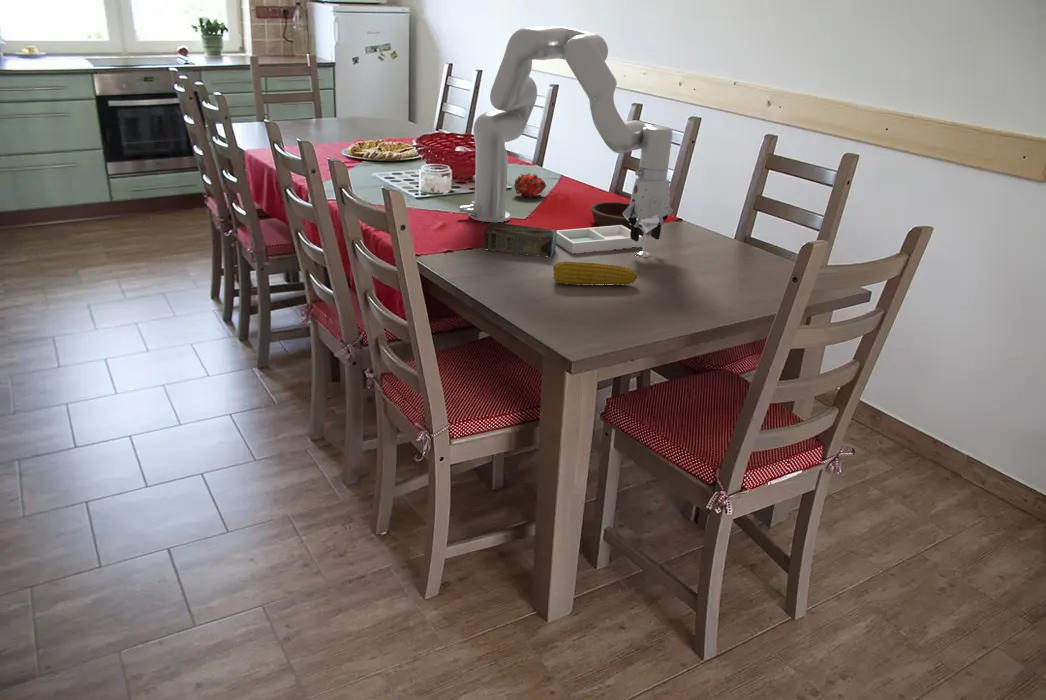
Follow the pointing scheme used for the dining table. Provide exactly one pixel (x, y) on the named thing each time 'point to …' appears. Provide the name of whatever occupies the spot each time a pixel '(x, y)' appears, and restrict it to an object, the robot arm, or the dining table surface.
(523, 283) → the dining table surface
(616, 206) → the dish
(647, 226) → the wineglass
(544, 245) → the beverage carton
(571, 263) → the food
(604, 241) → the white divided tray
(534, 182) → the dragon fruit
